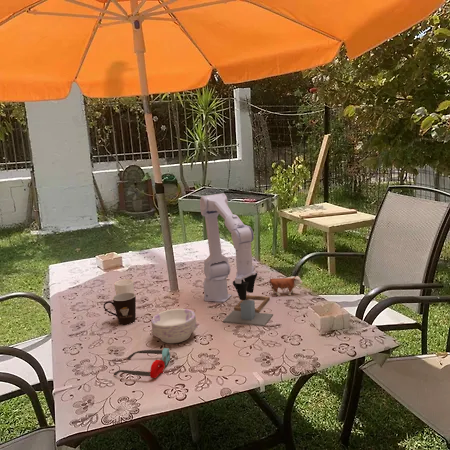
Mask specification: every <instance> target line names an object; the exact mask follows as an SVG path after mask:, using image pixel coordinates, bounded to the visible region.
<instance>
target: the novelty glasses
mask: <svg viewBox="0 0 450 450" xmlns="http://www.w3.org/2000/svg"><path fill="white" fill-rule="evenodd" d="M136 354H154V355H161V356H162V359H156V360H154V361H153V362H152V364H151V366H150V370H149V371H143V370H128V369H127V370H126V369H125V370H124V369H119V370H117V371H115V372H113V376H114V375H116V376H118V374H120V373H123V374H127V375H133V376H139V377H149V378H151V379H156V378H157V377H158V376H160V374H164V370H165V366H168V363H169V362H171V354H170V348H169V347H168V348H167V347H163V349H143V350H137V351H135V352H132V353H131V354H130V355H129V356H128V357H127V360H131V359H132V358H133V357H134V356H135V355H136Z"/></svg>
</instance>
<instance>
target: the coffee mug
mask: <svg viewBox="0 0 450 450" xmlns="http://www.w3.org/2000/svg"><path fill="white" fill-rule="evenodd" d="M136 297H137V296H136V294H135V292H134V293H121V294H118V295H116V294H115V295H114V296H113V297H112V299H111V300H112V301H110V300H109V301H106V302H104V303H103V307H102V308H103V309H104V311H106V312H107V313H109V314H111V315H113V316H115V317H116V318H117V322H118V324H119V325H121V324H123V325H122V326H127V324H128V325H131V323H132V324H134V323H135V322H136V321H135V320H136V319H137V318H136V317H137V316H136V310H137V309H136V303H137V301H136V299H137V298H136ZM107 304H112V306H113V307H114V309H115V312H112V311H110V310H108V309H107V307H106V305H107ZM133 322H134V323H133Z"/></svg>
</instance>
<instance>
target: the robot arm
mask: <svg viewBox="0 0 450 450" xmlns="http://www.w3.org/2000/svg"><path fill="white" fill-rule="evenodd" d="M199 208H200V209H199V210H200V214H201V216H203V217H204V220H205V228H206V235H207V244H208V250H209V255H208V256H207V258H206V259H205V260H204V261H203V272H204V275H205V276H204V277H205V278H204V280H203V283H202V284H203V287H202V288H203V293H204V294H203V295H204V298H203V301H204V302H216V303H225V302H226V301H227V300H228V299H230V298H231V297H232V294H229V292H228V280H227V279H228V278H229V276H230V274H231V266H230V263H229V259H228V257H227V256H225V255H223V254H222V245H221V237H220V229H219V219H218V216H219V215H220V217H222V218H223V219H224V226H225V228H226V229H227V230H228V231H229V233H230V234H231V241H232V243H233V248H234V250H235V263H236V265H235V266H236V275H235V277H234V280H233V281H232V286H233V287H234V288H235V290H236V292H237V295H238V298H239V300H240V301H241V300H246V295H248V293H251V294H253V293H254V289H255V282H256V280H257V277H258V275H259V274H258V272H257V271H255V266H254V265H253V256H252V255H253V254H252V252H253V251H252V243H253V241H254V237H255V235H254V231H253V229H252V227H251V226H250V225H247V224H244V222H243V221H242V220H241V218H240V217H239V216H238V215H237V214H233V212H232V210H231V209H230V207H229V200H228V197H227V194H225V193H224V192H222V193H215V194H210V195H202V196H200V200H199Z"/></svg>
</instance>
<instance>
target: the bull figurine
mask: <svg viewBox="0 0 450 450" xmlns="http://www.w3.org/2000/svg"><path fill="white" fill-rule="evenodd" d="M299 284H300V285H301V284H303V281H302V279H301V277H300V276H299V275H296V276H289V277H285V278H284V277H283V278H280V277H279V278H270V280H269V286H270V288H271V290H272V293H273V294H274V295H277V296H278V297H281V294H280V293H279V289H280V290H281V291H283V290H285V289H288V294H287V295H288V296H290V297H291V296H292V294H295V291H294V290H293V289H295V288H296V287H297V285H299Z"/></svg>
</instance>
